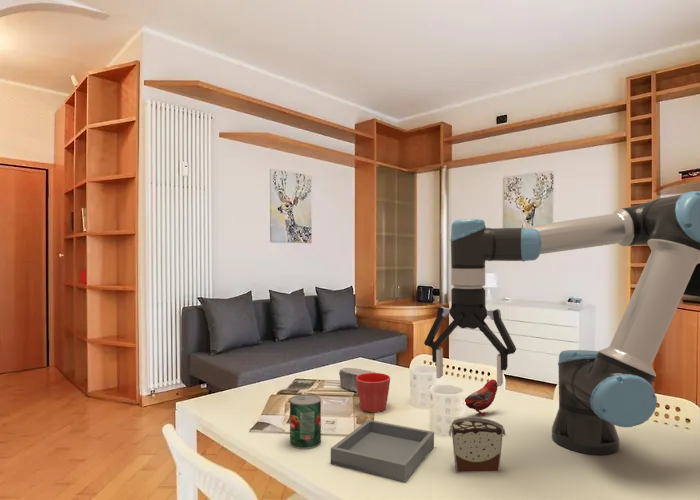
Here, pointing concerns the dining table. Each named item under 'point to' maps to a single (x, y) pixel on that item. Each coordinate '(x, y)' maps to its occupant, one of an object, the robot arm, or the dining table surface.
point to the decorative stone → (351, 377)
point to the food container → (476, 445)
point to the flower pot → (373, 391)
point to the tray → (383, 449)
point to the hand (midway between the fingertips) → (468, 380)
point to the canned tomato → (305, 421)
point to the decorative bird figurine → (482, 397)
